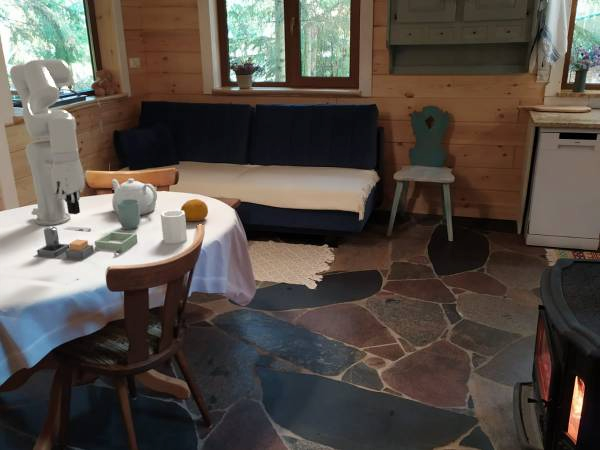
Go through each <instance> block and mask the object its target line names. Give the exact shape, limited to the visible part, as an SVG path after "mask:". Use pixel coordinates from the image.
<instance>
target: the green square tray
mask: <svg viewBox="0 0 600 450" xmlns="http://www.w3.org/2000/svg"><path fill="white" fill-rule="evenodd" d="M113 239H118V240H123V241H121V242H113V241H111V240H113ZM136 244H138V234H137V233H129V232H119V231H110V232H108V233H107V234H105V235H103V236H102V237H100V238H98V239H97V240H94V246H95V248H99V249H109V250H117V251H115V252H114V253H115V254H123V253H125V252H126V251H127V250H129V249H130V248H132V247H134V246H135V245H136Z"/></svg>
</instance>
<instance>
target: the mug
mask: <svg viewBox="0 0 600 450" xmlns="http://www.w3.org/2000/svg"><path fill="white" fill-rule="evenodd" d="M160 220H161V229H162V230H161V231H162V240H163V241H164V243H165V244H171V245H173V244H182V243H184V242H186V241H188V235H187V222H186V221H187V220H186V219H185V212H184V211H182V210H181V209H170V210H165V211H163V212H161V213H160Z"/></svg>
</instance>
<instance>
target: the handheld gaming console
mask: <svg viewBox="0 0 600 450" xmlns="http://www.w3.org/2000/svg"><path fill="white" fill-rule="evenodd" d="M63 230H64V231H75V232H88V233H89V232H91V231H92V228H91V227H80V226H79V227H77V226H69V227H65V228H63Z"/></svg>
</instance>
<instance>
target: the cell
mask: <svg viewBox="0 0 600 450" xmlns="http://www.w3.org/2000/svg"><path fill="white" fill-rule="evenodd" d="M43 234H44V240H45V246H46V247H47V250H49V251H56V250H58V249H60V245H59V244H60V240H59V234H58V228H57V227H55V226H48V227H45V228H44V229H43Z"/></svg>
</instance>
